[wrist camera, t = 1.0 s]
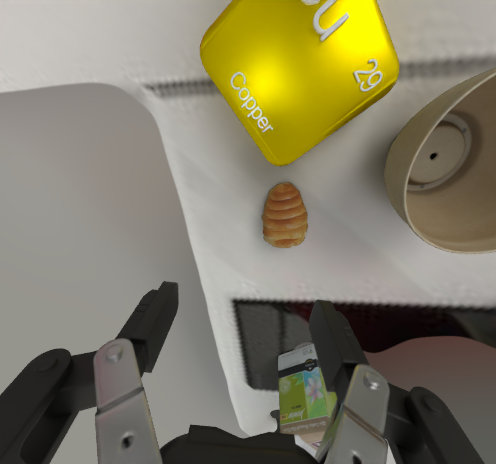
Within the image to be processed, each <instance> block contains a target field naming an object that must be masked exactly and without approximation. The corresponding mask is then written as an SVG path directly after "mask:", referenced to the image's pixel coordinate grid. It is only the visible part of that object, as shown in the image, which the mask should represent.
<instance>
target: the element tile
mask: <svg viewBox="0 0 496 464" xmlns="http://www.w3.org/2000/svg"><path fill="white" fill-rule="evenodd" d="M200 57H201V61H202V64H203V66H204V68H205V70H206V72H207V73H208V75H209V76H210V78H211V79H212V81H213V82H214V84H215V85H216V86H217V88H218V89H219V91H220V92H221V94H222V95H223V97H224V98H225V100H226V101H227V103H228V104H229V105H230V107H231V108H232V110H233V111H234V113H235V114H236V116H237V117H238V119H239V120H240V121H241V123H242V124H243V126H244V127H245V129H246V130H247V132H248V133H249V135H250V136H251V137H252V139H253V140H254V142H255V143H256V145H257V146H258V148H259V149H260V151H261V152H262V153H263V155H264V156H265V158H266V159H267V160H268V161H269V162H270V163H271V164H273V165H275V166H285V165H288V164H290V163H292V162H293V161H295V160H296V159H298V158H299V157H300V156H302V155H303V154H305V153H306V152H307V151H309V150H310V149H311V148H313V147H314V146H316V145H317V144H318V143H320V142H321V141H323V140H324V139H325V138H327V137H328V136H330V135H331V134H332V133H334V132H335V131H337V130H338V129H339V128H341V127H342V126H344V125H345V124H346V123H348V122H349V121H351V120H352V119H353V118H355V117H356V116H358V115H359V114H360V113H362V112H363V111H364V110H366V109H367V108H369V107H370V106H371V105H373V104H374V103H376V102H377V101H378V100H380V99H381V98H383V97H384V96H385V95H386V94H387V93H388V92H389V91H390V90H391V89H392V87H393V86H394V85H395V83H396V81H397V78H398V76H399V60H398V56H397V54H396V51H395V48H394V46H393V43H392V40H391V38H390V35H389V32H388V30H387V27H386V24H385V22H384V19H383V16H382V14H381V11H380V8H379V6H378V3H377V0H233V1H232V2H231V3H230V4H229V5H228V6H227V8H226V9H225V10H224V11H223V12H222V13H221V15H220V16H219V17H218V18H217V19H216V20H215V21H214V23H213V24H212V25H211V26H210V27H209V28H208V30H207V31H206V33H205V34H204V36H203V38H202V41H201V44H200Z"/></svg>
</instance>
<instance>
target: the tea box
mask: <svg viewBox="0 0 496 464" xmlns="http://www.w3.org/2000/svg"><path fill="white" fill-rule="evenodd" d="M278 372H279V406H280V433H285V434H294V436H295V444H297V445H299V446H300V447H302V448H304V449H305V450H306V451H307V452H309V453H310V454H311V455H312V456H313V457H315V454H316V452H317V450H318V448H319V445H320V443H321V441H322V439H323V436H324V433H325V430H326V427H327V425H328V422H329V419H330V416H331V413H332V411H333V408H334V405H335V402H336V400H337V396H336V393H335V392H327V390H326V386H325V383H324V379H323V376H322V372H321V369H320V365H319V361H318V358H317V354H316V351H315V347H314V344H310V345H306V346H303V347H301V348H298V349H295V350H292V351H290V352H287V353H284V354H282V355H279V357H278Z"/></svg>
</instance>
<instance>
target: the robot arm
mask: <svg viewBox="0 0 496 464" xmlns="http://www.w3.org/2000/svg"><path fill="white" fill-rule="evenodd" d="M177 309H178V283H175V282H174V283H173V282H166V281H164V282H163V283H162V285H161V286H160V288H159V289H158V290H151V291H150V292H148V293H147V294H146V295H145V296H143V298H142V299H141V301H140V302H139V305H137V307H136V308H135V310H134V312H133V313H132V315H131V316H130V318H129V319H128V321H127V322H126V324H125V325H124V327H123V328H122V330H121V331H120V333H119V334H118V336H117V337H116V338H115V339H114V340H112V341H109V342H108V343H106V344H104V345H103V346H102V347H101V348H100V349H99V350H97V351H94V352H90V353H84V354H79V355H74V356H71V354H70V352H69V351H68V350H65V349H53V350H50V351H47V352H45V353H43V354H41V355H39V356H38V357H36V358H35V359H34V360H32V361H31V362H30V363H29V364H28V365H27V366H26V367H25V368H24V369H23V370H22V372H21V373H20V374H19V375H18V376H17V377H16V378H15V379H14V381H13V382H12V383H11V384H10V385H9V386H8V387H7V388H6V389H5V390H4V392H3V393H2V394H1V395H0V464H49V463H50V462H51V460H52V458H53V456H54V455H55V453H56V451H57V449H58V448H59V446H60V444H61V442H62V441H63V439H64V437H65V435H66V434H67V432H68V430H69V428H70V426H71V425H72V423H73V421H74V419H75V418H76V416H77V414H78V412H79V411H81V410H85V409H88V408H92V407H96V406H97V413H96V414H95V426H96V441H97V456H98V464H386V461H387V453H388V444H389V446H390V449H391V451H392V454H393V457H394V459H395V462H396V464H484V462H483V460H482V459H481V457H480V456H479V454H478V453H477V451H476V450H475V448H474V447H473V445H472V444H471V442H470V441H469V439H468V438H467V436H466V435H465V433H464V432H463V430H462V429H461V427H460V425H459V424H458V422H457V421H456V419H455V418H454V416H453V415H452V413H451V412H450V410H449V409H448V407H447V406H446V405H445V403H444V402H443V401H442V400H441V399H440V398H439V397H438V396H436V395H435V394H434V393H432V392H431V391H429V390H427V389H425V388H423V387H414V388H413V389H411V391H410V392H408V391H406V390H404V389H401V388H399V387H396V386H394V385H392V384H390V383H388V382H387V381H386V379H385V378H384V377H383V375H382V374H381V373H380V372H378V371H377V370H376V369H375V368H373V367H371V366H370V365H369V363H368V361H367V359H366V357H365V355H364V353H363V351H362V349H361V347H360V345H359V343H358V341H357V339H356V337H355V335H354V333H353V331H352V330H351V326H350V324H349V322H348V320H347V319H346V318H345V317H344V316H343V315H342V314H341V312H338V311H336V310H335V308H334V306H333V304H332V302H331V301H325V300H316V302H315V305H314V307H313V310H312V313H311V316H310V319H309V329H310V333H311V337H312V340H313V344H314V347H315V351H316V354H317V358H318V361H319V365H320V369H321V372H322V376H323V379H324V383H325V386H326V390H327V392H335V393H336V396H337V400H336V402H335V405H334V408H333V411H332V413H331V416H330V419H329V422H328V425H327V427H326V430H325V433H324V436H323V439H322V441H321V443H320V445H319V448H318V450H317V452H316V454H315V457H313V456H312V455H311V454H310V453H309V452H307V451H306V450H305V449H304V448H302V447H300V446H299V445H297V444H295V436H294V434H285V433H274V432H267V433H263V434H260V435H256V436H252V437H248V438H244V439H243V438H239V437H237V436H235V435H232V434H230V433H228V432H226V431H224V430H221V429H219V428H217V427H210V426H200V425H190V428H189V433H188V434H184V435H181V436H179V437H176V438H175V439H173V440H172V441H170V442H168V443H167V444H165V445H164V446H163V447H162V448H161V449H159V445H158V442H157V437H156V433H155V429H154V425H153V421H152V417H151V413H150V409H149V405H148V401H147V397H146V393H145V390H144V387H143V384H142V381H141V377H142V375H143V373H144V372H148V373H151V372H152V370H153V368H154V365H155V363H156V361H157V358H158V355H159V353H160V351H161V349H162V346H163V344H164V341H165V339H166V337H167V335H168V332H169V330H170V327H171V325H172V322H173V320H174V318H175V316H176V313H177ZM384 438H385V439H387V441H388V443H387V441H386V440H385V439H384Z"/></svg>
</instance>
